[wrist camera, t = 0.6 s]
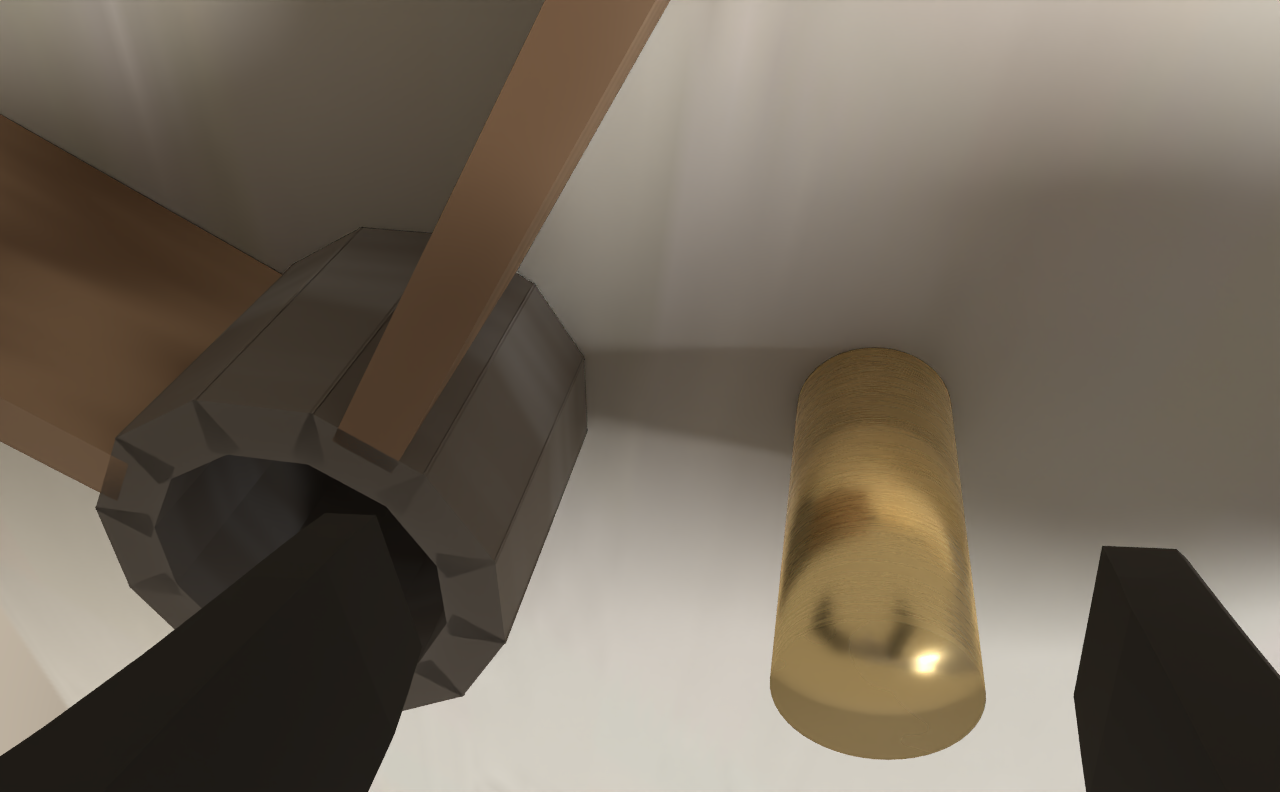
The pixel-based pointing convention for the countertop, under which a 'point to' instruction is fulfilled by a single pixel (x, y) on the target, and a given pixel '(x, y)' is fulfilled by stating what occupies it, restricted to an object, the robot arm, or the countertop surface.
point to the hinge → (318, 364)
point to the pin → (876, 565)
